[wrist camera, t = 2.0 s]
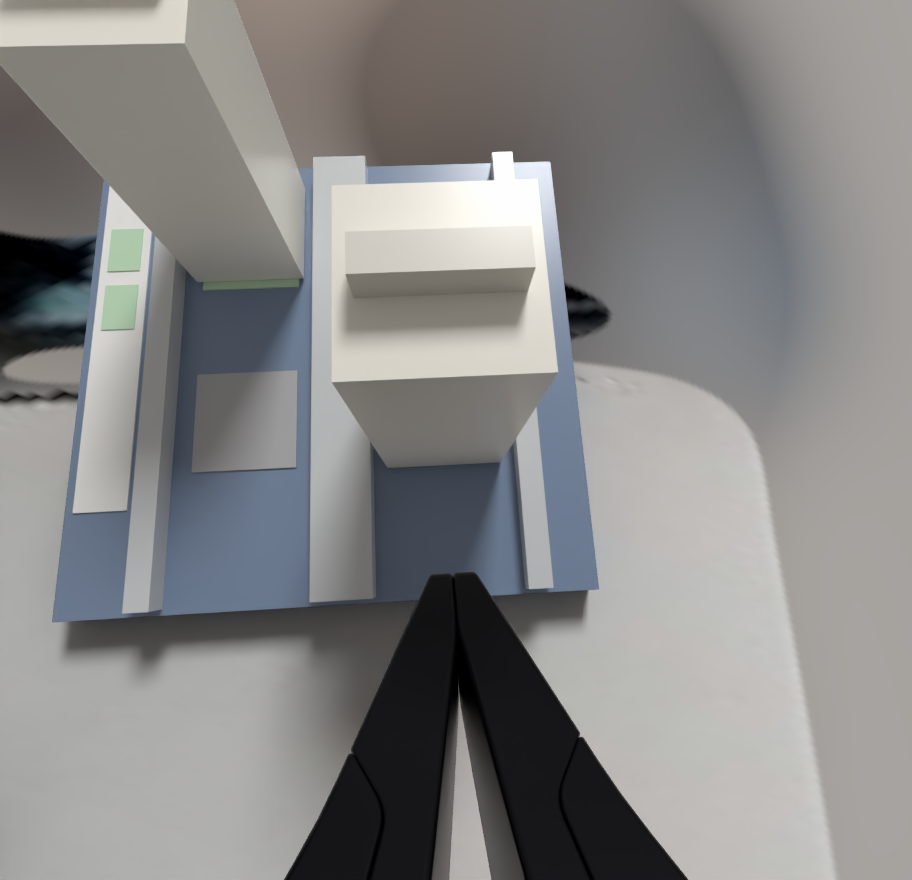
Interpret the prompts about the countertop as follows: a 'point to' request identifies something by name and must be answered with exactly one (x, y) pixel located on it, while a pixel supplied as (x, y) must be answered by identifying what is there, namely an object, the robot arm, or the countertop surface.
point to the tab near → (440, 316)
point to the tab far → (169, 124)
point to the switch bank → (289, 443)
